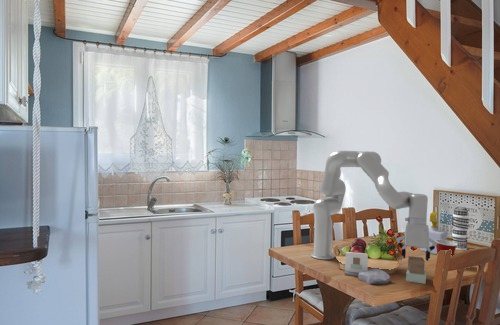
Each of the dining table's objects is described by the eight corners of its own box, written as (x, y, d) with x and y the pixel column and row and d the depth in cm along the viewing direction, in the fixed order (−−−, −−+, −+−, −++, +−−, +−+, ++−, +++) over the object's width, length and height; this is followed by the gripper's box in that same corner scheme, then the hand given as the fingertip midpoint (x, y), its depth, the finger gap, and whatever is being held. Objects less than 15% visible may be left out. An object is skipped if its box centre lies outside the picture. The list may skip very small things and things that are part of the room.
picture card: (345, 271, 188) (345, 250, 188) (367, 273, 185) (367, 252, 185) (344, 275, 182) (345, 253, 182) (367, 277, 179) (367, 255, 179)
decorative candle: (447, 247, 239) (449, 206, 238) (455, 245, 245) (456, 205, 244) (463, 251, 232) (464, 208, 231) (470, 248, 238) (472, 207, 237)
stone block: (391, 286, 174) (375, 275, 183) (393, 276, 173) (376, 265, 182) (372, 291, 169) (356, 279, 177) (374, 281, 168) (357, 270, 176)
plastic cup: (457, 268, 196) (458, 245, 196) (433, 265, 201) (434, 242, 200) (456, 263, 206) (457, 240, 205) (433, 260, 210) (434, 238, 210)
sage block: (407, 276, 183) (407, 268, 183) (426, 279, 180) (426, 270, 180) (406, 281, 176) (406, 272, 176) (425, 284, 173) (425, 275, 172)
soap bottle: (446, 254, 224) (448, 213, 223) (440, 255, 220) (442, 214, 219) (426, 249, 234) (427, 210, 233) (420, 251, 230) (421, 211, 229)
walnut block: (407, 268, 182) (408, 256, 181) (421, 270, 180) (422, 257, 180) (409, 272, 176) (410, 259, 176) (424, 274, 174) (424, 260, 174)
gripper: (397, 221, 176) (395, 258, 177) (439, 224, 172) (437, 263, 172) (396, 218, 184) (394, 254, 184) (436, 221, 179) (434, 258, 180)
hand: (415, 258), depth 178 cm, fingers open, 9 cm apart
